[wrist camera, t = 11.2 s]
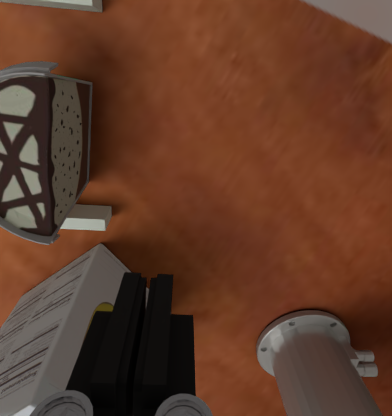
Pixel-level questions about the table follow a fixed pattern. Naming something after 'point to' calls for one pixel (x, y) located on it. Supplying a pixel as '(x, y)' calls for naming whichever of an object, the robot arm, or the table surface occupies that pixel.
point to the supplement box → (54, 329)
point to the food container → (42, 148)
